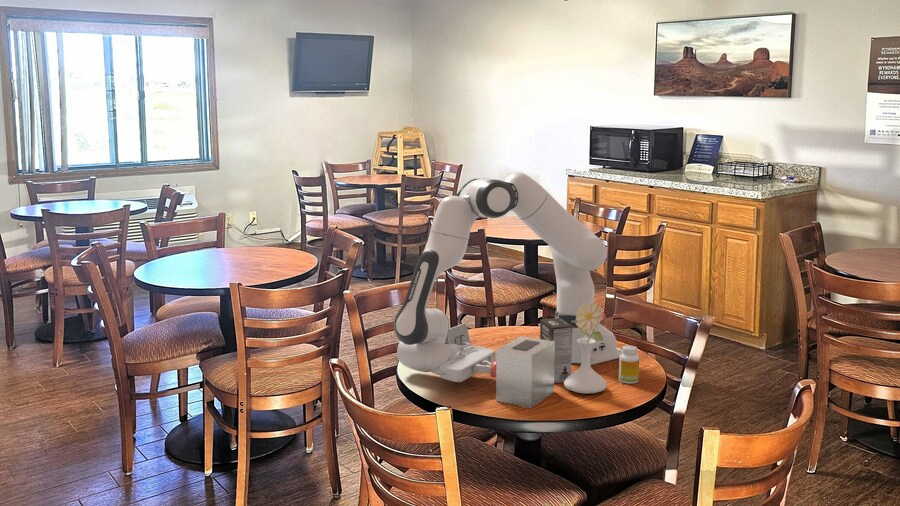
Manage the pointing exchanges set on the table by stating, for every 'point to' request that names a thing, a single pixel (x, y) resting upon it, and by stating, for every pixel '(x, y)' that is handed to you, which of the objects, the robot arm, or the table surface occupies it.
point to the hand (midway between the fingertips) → (494, 369)
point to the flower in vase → (587, 352)
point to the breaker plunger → (493, 369)
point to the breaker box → (525, 371)
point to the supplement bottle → (629, 365)
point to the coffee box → (559, 345)
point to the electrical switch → (458, 335)
